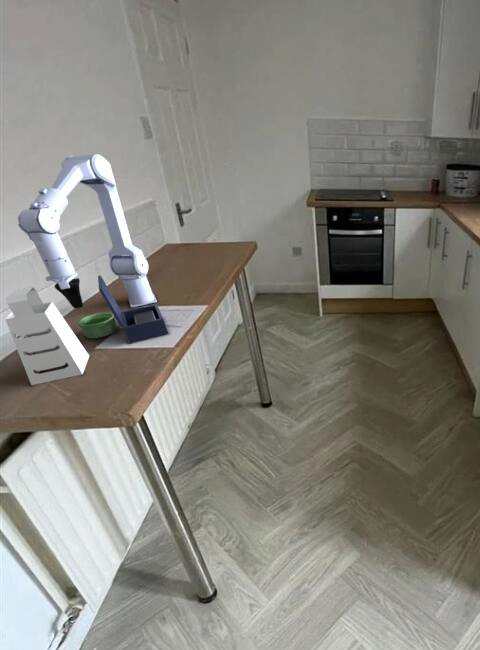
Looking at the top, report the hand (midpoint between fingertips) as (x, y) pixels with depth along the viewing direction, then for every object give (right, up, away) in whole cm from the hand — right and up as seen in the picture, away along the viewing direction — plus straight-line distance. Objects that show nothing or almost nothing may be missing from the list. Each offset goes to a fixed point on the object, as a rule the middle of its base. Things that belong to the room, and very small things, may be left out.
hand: (78, 307), depth 117 cm
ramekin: (+4, -7, +4) cm, 9 cm away
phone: (+17, -5, +5) cm, 18 cm away
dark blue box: (+16, -6, +5) cm, 18 cm away
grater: (+6, -18, -13) cm, 23 cm away
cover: (+11, +1, -3) cm, 12 cm away
